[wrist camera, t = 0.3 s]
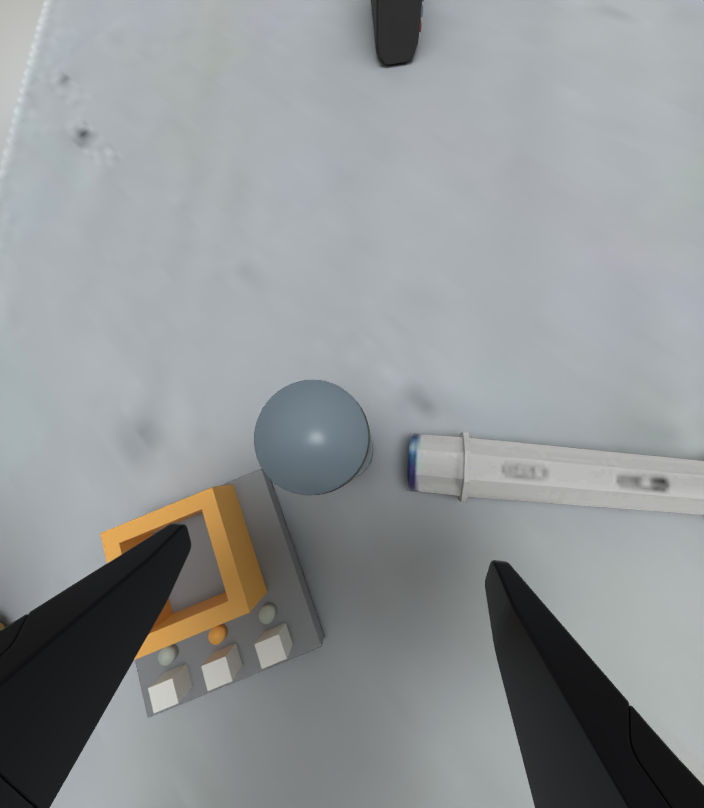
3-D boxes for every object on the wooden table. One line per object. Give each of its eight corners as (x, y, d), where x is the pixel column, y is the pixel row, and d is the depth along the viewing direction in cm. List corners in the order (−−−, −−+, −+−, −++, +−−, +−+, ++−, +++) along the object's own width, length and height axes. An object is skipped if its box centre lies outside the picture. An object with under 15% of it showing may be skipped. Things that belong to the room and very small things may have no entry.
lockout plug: (382, 466, 24) (388, 469, 11) (330, 487, 24) (274, 515, 11) (361, 414, 24) (342, 361, 12) (310, 435, 24) (237, 404, 12)
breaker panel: (324, 636, 22) (311, 676, 18) (160, 704, 22) (110, 759, 18) (267, 468, 24) (244, 469, 20) (119, 529, 24) (66, 543, 20)
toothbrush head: (410, 419, 20) (967, 451, 15) (413, 430, 27) (802, 456, 21) (405, 505, 19) (997, 575, 14) (409, 495, 26) (815, 540, 20)
